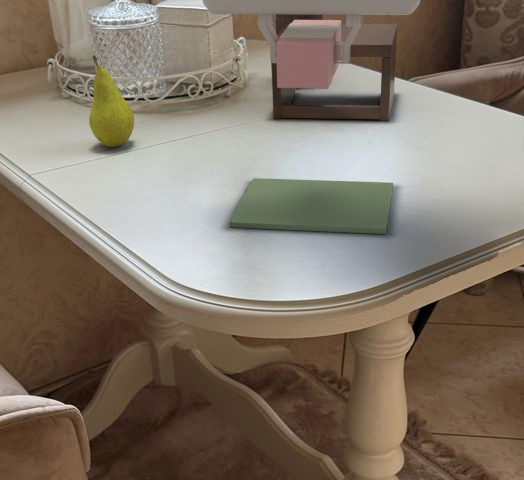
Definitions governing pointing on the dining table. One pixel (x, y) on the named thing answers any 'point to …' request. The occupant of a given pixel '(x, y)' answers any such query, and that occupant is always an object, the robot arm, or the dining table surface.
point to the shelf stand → (364, 45)
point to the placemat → (315, 206)
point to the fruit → (109, 111)
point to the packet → (307, 54)
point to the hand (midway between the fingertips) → (310, 62)
